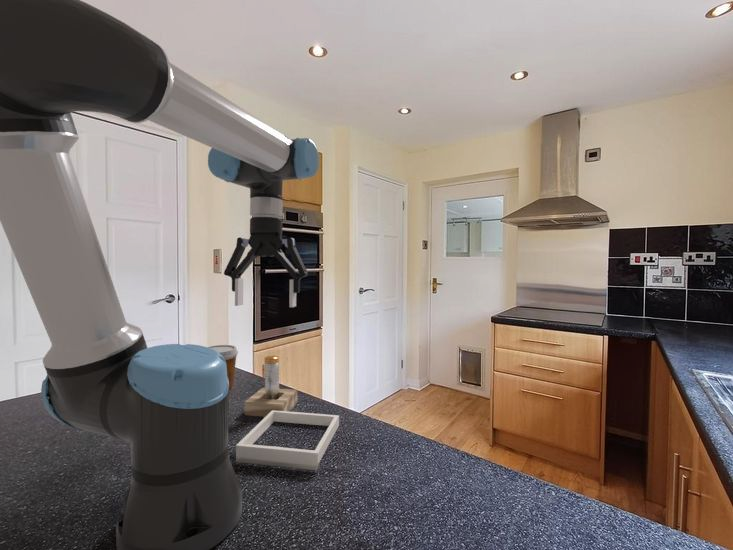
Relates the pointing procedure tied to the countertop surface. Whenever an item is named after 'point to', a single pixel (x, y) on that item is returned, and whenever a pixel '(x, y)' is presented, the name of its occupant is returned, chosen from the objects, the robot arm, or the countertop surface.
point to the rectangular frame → (280, 454)
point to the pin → (272, 377)
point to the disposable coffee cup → (228, 360)
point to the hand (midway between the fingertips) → (265, 306)
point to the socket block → (270, 402)
